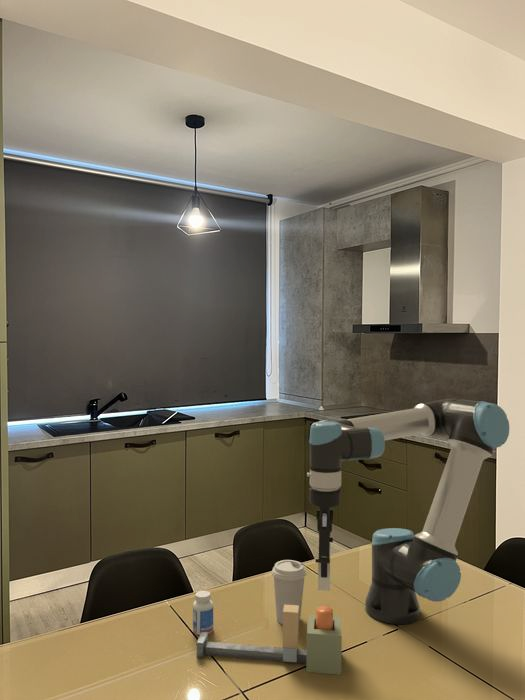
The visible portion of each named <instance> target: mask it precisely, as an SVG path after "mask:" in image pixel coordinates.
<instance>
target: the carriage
mask: <svg viewBox="0 0 525 700" xmlns="http://www.w3.org/2000/svg"><path fill="white" fill-rule="evenodd" d="M299 625H300V622H299V605H284V608H283V624H282V648H283V661H286V662H285V663H293V662H297V649H299V640H300V639H299V636H300V635H299V633H300V632H299V631H300V626H299Z"/></svg>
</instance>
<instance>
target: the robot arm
mask: <svg viewBox="0 0 525 700" xmlns="http://www.w3.org/2000/svg"><path fill="white" fill-rule="evenodd" d="M309 429H310V430H309V439H308V443H309V472H307V473H306V476H307V477H308V478H309V486H310V487H309V492H308V493H309V495H308V499H309V500H308V501H309V503H310V505H312V506H314V507H318V508H319V509H316V516H315V517H316V519H315V520H316V521H317V525H316V528H317V529H316V531H317V532H318V558H315V563H317V590H318V591H323V592H324V591H327V592H330V591H331V543H333V542H334V538H333V537H331V533H333V522H334V510H333V509H331V508H335V507H338V506H340V505H341V502H342V490H341V486H342V462H347V461H356V460H357V461H359V460H371V459H375V458H379V457H381V456H382V455H383V454H384V452H385V449H386V444H385V443H386V441H389V440H395V439H400V438H407V437H411V436H417V435H420V436H422V437H432V436H434V437H435V436H437V437H444V438H448V439H447V441H448V444H449V445H450V447H451V449H450V450H449V455H448V457H447V460H446V463H445V465H444V468H443V471H442V474H441V477H440V480H439V483H438V486H437V489H436V492H435V494H434V497H433V501H432V503H431V506H430V509H429V511H428V514H427V517H426V520H425V523H424V526H423V529H422V531H421V532H418V533H416V534H415V533H414V531H412V530H410V529H406V528H399V527H397V528H396V527H392V528H390V527H389V528H380V529H377V530H376V531H374V533H373V534H372V542H371V583H370V587H369V589H368V592H367V595H366V597H365V604H364V605H365V607H364V608H365V612H366V613H367V614H368V616H370V617H372V618H373V619H375V620H377V621H380V622H383V623H385V624H391V625H406V624H411V623H414V622H416V621H417V620H419V618H420V616H421V615H420V614H421V609H420V604H419V600H418V597H417V595H418V596H419V597H422V598H423V599H427V600H428V601H432V602H435V603H437V602H443V601H445V600H447V599H449V598H450V597H451V596H452V595H454V594H455V592H456V591H457V589H458V587H459V586H460V583H461V579H462V573H461V568H460V566H459V564H458V562H457V559H458V555H459V552H458V551H457V549H456V541H457V538H458V535H459V533H460V530H461V527H462V524H463V521H464V517H465V515H466V513H467V509H468V506H469V504H470V501H471V497H472V494H473V492H474V488H475V485H476V483H477V480H478V477H479V474H480V470H481V469H482V466H483V465H482V464H483V461H484V460H486V459H488V458H491V457H492V455H493V452H494V449H497V448H500V447H502V446H503V445H505V444H506V442H507V440H508V439H509V435H510V422H509V419H508V415H507V414H506V412H505V410H504V409H503V407H501V406H499V405H498V404H496V403H491V402H487V401H485V400H484V401H483V400H481V401H478V400H472V399H461V398H445V399H440V400H439V399H438V400H434V401H429V402H425V403H419V404H416V405H415V406H414V407H413V408H409V409H408V408H407V409H402V410H401V409H400V410H396V411H391V412H384V413H378V414H373V415H366V416H358V417H354V418H348V419H339V420H335V421H333V420H330V419H329V420H328V419H327V420H326V419H322V420H319V421H316V422H313V423H312V424H311V425H310V428H309Z"/></svg>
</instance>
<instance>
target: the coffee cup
mask: <svg viewBox="0 0 525 700" xmlns="http://www.w3.org/2000/svg"><path fill="white" fill-rule="evenodd" d="M271 576H273V583H274V584H273V587H274V597H275V598H274V601H275V612H276V613H275V614H276V621H277V622H278V624H281V625H283V608H284V605H299V623H300V622H301V618H302V608H303V597H304V596H303V595H304V587H305V586H304V585H305V577H306V576H307V570H306V568H305V567H304V564H303V563H302V562H300V561H297V560H294V559H293V560H292V559H283V560H280V561H279V560H278V561H277V562H275V563H274V566H273V567H272V570H271Z"/></svg>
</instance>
